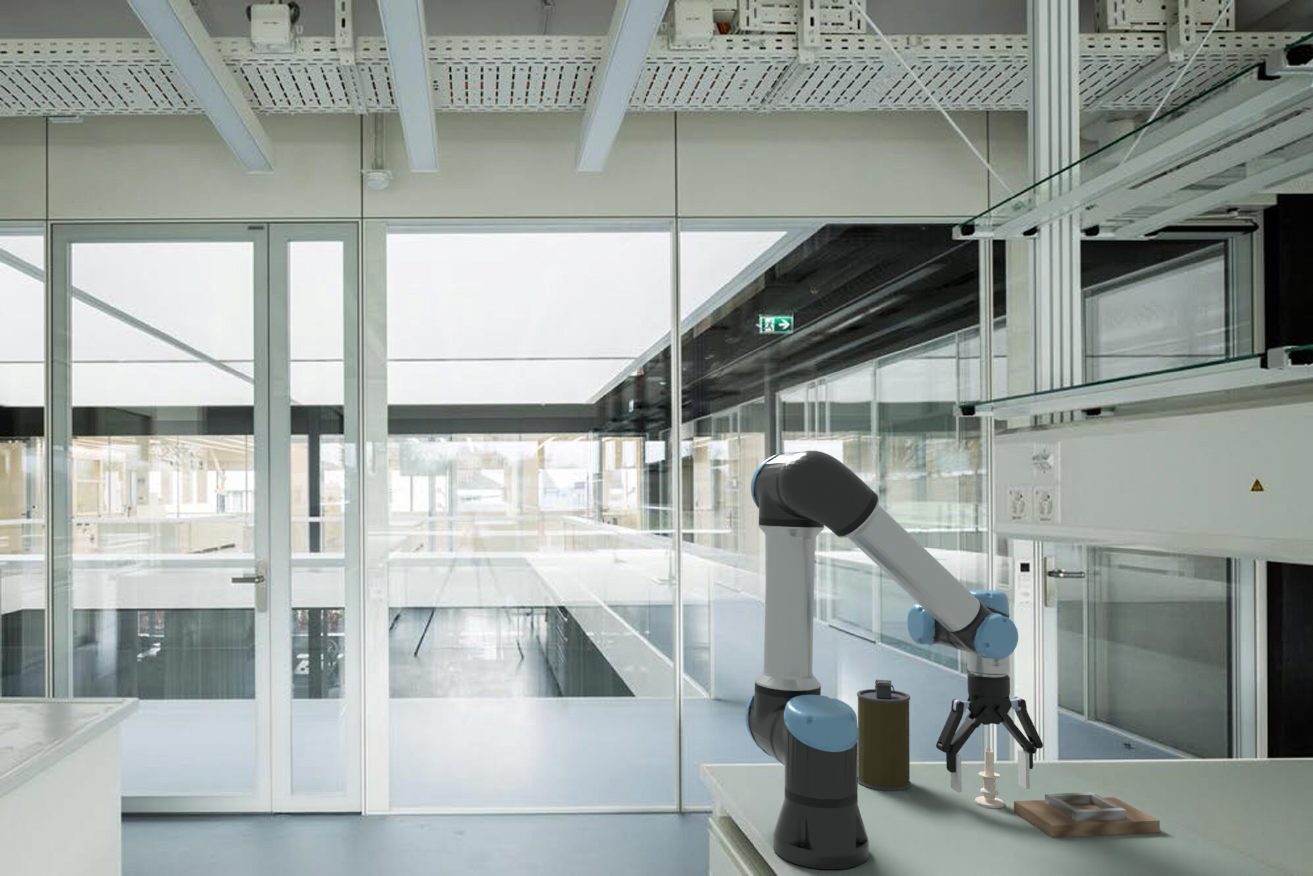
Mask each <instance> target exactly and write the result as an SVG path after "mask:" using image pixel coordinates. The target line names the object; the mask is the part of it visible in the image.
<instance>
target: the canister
mask: <svg viewBox="0 0 1313 876" xmlns="http://www.w3.org/2000/svg"><path fill="white" fill-rule="evenodd" d="M856 696H857V725H858V731H859V738H858V783H859V784H860V785H861V786H863V787H865V788H868V789H871V790H877V791H881V792H882V791H883V792H897V791H904V790H907V789H909V788H910V787H911V785H912V783H911V781H910V780H911V778H910V776H911V775H910V771H911V770H910V768H911V767H910V700H911V695H909V693H905V692H903V691H900V690H895V688H894V685H893V684H892V680H888V679H875V686H874V688H868V689H862V690H861V689H860V690H859V691H857V693H856Z"/></svg>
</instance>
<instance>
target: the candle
mask: <svg viewBox="0 0 1313 876" xmlns="http://www.w3.org/2000/svg"><path fill="white" fill-rule="evenodd" d="M977 774H978V776H980V777H982V779H983V781H982V784H983V787H981V788H980V790H979V791H980V793H981V794H983V795H982V796H981V795H979V796H977V797H975V799H974V803H975V804H976V805H977V806H980V807H983V808H987V809H1002V808H1004V807H1005V801H1003V799H1001V798H999V797H996V796H998V795H999V790H998V789H997V787H996V785H997V782H996V780H997V779H998V778H1001V775H1000V774H999V773H997V772H995V758H994V750H993V749H991V748H990V746H989V747H988V748H985V749H984V771H979V772H978V773H977Z"/></svg>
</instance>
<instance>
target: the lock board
mask: <svg viewBox="0 0 1313 876" xmlns="http://www.w3.org/2000/svg"><path fill="white" fill-rule="evenodd" d="M1013 813H1014V814H1016V815H1017V816H1019V817H1021V818H1022V819H1023V820H1025V821H1026V822H1028V823H1030V824H1031V825H1032V826H1034V827H1035V828H1037V829H1039V830H1040V831H1042V832H1043V833H1045V834H1047V835H1048V836H1049V837H1051V838H1069V837H1071V838H1072V837H1091V836H1093V837H1094V836H1110V835H1111V836H1112V835H1131V834H1132V835H1134V834H1136V835H1138V834H1153V833H1154V834H1156V833H1158V834H1159V833H1160V832H1161V831H1160V829H1161V828H1160V819H1157V818H1155V817H1153V816H1152V815H1149V814H1148V813H1146V812H1144V811H1142V810H1140V809H1138V808H1137V807H1134V806H1132V805H1130V804H1128V803H1126V802H1124V801H1123V800H1121V799H1118V798H1117V797H1115V796H1112V797H1109V796H1108V797H1103V796H1100V795H1099V794H1097V793H1094V792H1091V791H1089V792H1068V793H1067V792H1066V793H1045V794H1044V799H1037V800H1036V799H1035V800H1013Z"/></svg>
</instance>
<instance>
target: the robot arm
mask: <svg viewBox="0 0 1313 876" xmlns="http://www.w3.org/2000/svg"><path fill="white" fill-rule="evenodd" d="M750 493H751V498H752V500H753V502H754V504H755V506H756V507H757V508H758V528H759V529H760V530H761V531H762V533H764V534H765V536H766V560H765V561H766V562H765V563H766V564H765V568H766V569H765V598H764V599H765V600H764V601H765V603H764V605H765V607H764V612H765V613H764V614H765V615H764V645H763V646H764V650H763V671H762V672H761V673H760V674H759V675H758V676H757V677H755V678H754V679H755V680H754V694H753V695H752V696H751V697H750V698H749V700H748V702H747V705H746V707H745V714H744V716H745V717H744V720H745V727H746V730H747V732H748V734H749V736H750V738H751V740H752V741H753V742H754V743H755V745H756V746H757V747H758V748H759V749H760V750H761V751H762V752H763V753H765V754H766V755H768V756H770V757H772V758H773V759H775V760H776V761H777V762H779V763H780V764H782V765H783V766H784V798H783V799H784V800H783V803H782V805H781V808H780V811H779V815H778V818H777V822H776V825H775V827H774V831H773V850H774V852H775V853H776V855H778V857H780V858H782V859H783V860H785V861H787V862H790V863H792V864H794V865H795V864H796V865H798V866H801V867H807V868H813V869H820V870H841V869H842V870H843V869H849V868H854V867H857V866H859V865H862V864H864V863H865V862H866V861H867V860H868V859H869V856H870V842H869V837H868V834H867V831H866V827H865V824H864V820H863V818H862V814H861V811H860V807H859V804H858V803H859V802H858V798H859V797H858V795H859V794H858V788H859V787H858V738H859V731H858V715H857V714H856V712H855V710H854V709H853V707H851V706H850V704H848V703H846V702H844V701H842V700H840V699H837V698H832V697H829V696H826V695H821V694H822V693H821V690H822V685H821V682H820V681H819V680H818V679H817V677H816V676H815V675H814V673H813V663H814V662H813V659H814V657H813V656H814V653H813V652H814V651H813V650H814V648H813V647H814V607H815V605H814V603H815V565H816V564H815V563H816V561H815V560H816V557H815V556H816V537H817V536H818V535H819V534H820V533H821V532H822V531H824V528H825V527H826V528H828V529H829V530H830V531H831V532H832V533H833V534H834V535H836V536H837V537H838V538H847V539H849V541H851V542H852V543H853V544H854V545H855V546H856V547H857V548H859V549H860V551H861V552H863V553H864V554H865V555H866V556H867V557H868V558H869V559H870V560H871V561H872V562H873V563H875V564H876V566H878V567H879V568H880V569H881V570H882V571H883V572H884V573H885V574H887V576H889V578H891V579H892V580H893V581H894V582H895V583H896V584H897V585H898V586H899V587H900V588H902V590H904V591H905V592H906V593H907V594H908V595H909V596H910V597H911V598H913V600H914V601H916V603H917V604H916V603H915V604H914V605H912V606H911V608H909V611H908V613H907V618H906V619H907V620H906V623H907V624H906V625H907V631H908V634H909V637H910V638H911V640H913V642H915V644H918V645H929V646H933V645H941V646H942V645H943V646H944V647H945V646H946V647H949V648H953V649H955V650H956V649H957V650H959V651H964V652H966V653H967V654H966V657H967V658H966V659H967V661H966V662H967V663H966V665H967V666H966V669H967V670H968V671H969V672H968V673H967V675H966V677H967V694H968V697H967V700H960V699H957V698H953V699H952V701H951V708H950V712H949V714H948V717H947V718H946V721H945V723H944V726H943V728H942V731H941V733H940V735H939V737H938V740H937V741H936V745H935V747H936V749H938V750H939V751H941V752H943V753H945V757H946V759H945V761H946V762H945V763H946V765H945V766H946V770H947V771H948V772H949V773H950V788H951V789H953V790H954V791H956V792H958V793H962V792H963V790H962V788H963V787H962V755H961V754H959V751H960V750H961V749H962V748H963V747H964V745H965V744H966V742H967V741H968V739H969V738H970V737H971V736H972V734H973V733H974V731H975V730H976V729H977V728H979V727H980V726H981V725H984V726H989V725H991V724H993V725H1001V724H1002V725H1003V726H1004V728H1005V729H1006V730H1007V731H1008V732H1009V733H1010V735H1011V736H1012V737H1013V738H1014V740H1015V742H1016V743H1018V745H1019V746H1020V747H1021V748H1017V777H1018V779H1017V780H1018V781H1017V784H1018V785H1019V786H1020V787H1022V788H1024V789H1026V790H1027V789H1031V783H1030V782H1031V781H1030V780H1031V779H1030V778H1031V777H1030V776H1031V775H1030V774H1031V771H1030V770H1032V769H1033V768H1034V754H1036V753H1037V749H1042V748H1043V747H1044V743H1043V742H1042V739H1041V737H1040V735H1039V733H1038V731H1037V728H1036V727H1035V725H1034V723H1033V721H1032V718H1031V717H1030V714H1029V713H1028V707H1027V700H1025V698H1024V699H1023V698H1021V697H1018V696H1013V698H1012V699H1010V695H1011V678H1010V676H1009V675H1008V674H1009V673H1010V656H1011V655H1012V654H1013V652H1014V651H1015V649H1016V648H1017V646H1018V644H1019V643H1018V642H1019V632H1018V628H1017V626H1016V624H1015V622H1014V621H1012V619H1010V616H1011V615H1010V608H1009V599H1008V596H1007V594H1006V593H1004V592H1003V591H1002V590H1001V591H1000V590H995V589H971V590H969V589H968V588H967V587H966V586H964V585H963V584H962V583H961V582H960V581H959V580H958V579H957V578H956V577H955V576H954V575H953V574H952V573H951V572H950V571H949V570H948V569H947V568H945V567H944V566H943V565H942V564H941V563H940V561H938V560H937V559H936V558H935V557H934V556H933V555H932V554H931V553H930V552H929V551H928V550H927V549H926V548H925V547H924V546H922V544H920V542H918V541H917V540H916V539H915V538H914V536H912V535H911V534H910V533H909V532H908V531H907V530H906V529H905V527H904V528H903V527H902V525H900V523H899V522H897V521H896V520H895V519H894V518H893V517H892V515H890V514H889V513H888V512H887V511H886V510H885V509H884V508H883V507H882V506H880V497H879V495H878V494H877V493H876V492H875V491H874V490H873V489H872V488H871V487H870V486H868V484H867V483H865V481H863V480H862V478H860V477H859V476H858V475H857V474H856V473H855V472H854V471H852V470H851V469H850V468H849V467H848V466H846V465H845V464H844V463H843V462H841V461H840V460H839V459H837V458H835V457H834V456H832V455H830V454H829V453H825V452H823V451H819V450H803V451H791V452H790V451H788V452H781V453H777V454H775V455H772V456H770V457H768V458H767V459H765V460H764V461H762V462H761V463H760V464H759V465H758V467H757V468H756V469H755V471H754V473H753V475H752V477H751V482H750ZM967 709H968V711H969V712H968V714H967V715H966V716H965V718H964V721H963V723H962V724H961V721H962V719H963V715H964V713H966V712H967ZM1011 709H1012V710H1013V711H1014V712H1015V715H1016V716H1017V718H1018V721H1019V722H1020V724H1021V727H1022V729H1023V730H1024V733H1025V735H1026V736H1025V735H1024V733H1022V730H1020V728H1019V727H1018V726H1017V724H1015V722H1014V720H1013V718H1012V717H1010V715H1009V714H1008V713H1009V712H1010V710H1011ZM960 724H961V726H960ZM959 726H960V727H959Z"/></svg>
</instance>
